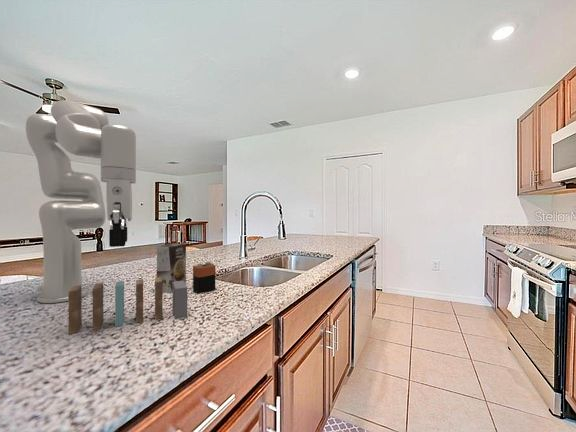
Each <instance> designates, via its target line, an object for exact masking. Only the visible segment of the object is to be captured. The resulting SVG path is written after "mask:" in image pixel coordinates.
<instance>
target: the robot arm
mask: <svg viewBox="0 0 576 432" xmlns="http://www.w3.org/2000/svg"><path fill="white" fill-rule="evenodd" d="M50 113H51V114H46V113H45V114H44V113H34V114H31V115H30V116H28V117H27V119H26V121H25V134H26V139H27V141H28V144H29V146H30V148H31V150H32V152H33V153H34V156H35V157H36V158H35V159H36V161H37V168H38V175H39V181H40V186H41V191H42V192H43V194H44V195H45V196H46V197H47V198H49V199H50V198H51V199H56V200H51V201H47V202H44V203H43V204H42V205H41V206H40V208H39V210H38V216H39V217H38V219H39V222H40V225H41V232H42V243H43V244H42V245H43V251H42V252H43V283H42V284H41V285H38V286H37V290H38V291H42V293H41V294H40V295H39V296H37V298H36V300H37V302H38V303H42V304H57V303H63V302H64V303H65V302H69V298H68V291H69V290H70V289H71V288H72V287H73V286H79V285H81V293H82V298H83V297H85V296H86V295H88V290H87V289H86V288H82V287H83V286H82V285H83V284H82V283H83V282H82V278H83V277H82V276H83V275H82V242H81V240H80V238H79V237H78V236H77V235H76V234H75V233H74V232H73V230H75V231H76V230H87V229H98V228H101V227H102V226H104V224H105V223H106V217H107V220H108V221H109V223H110V224H109V231H108V232H109V233H108V236H109V238H108V241H109V242H108V243H109V244H108V245H109V247H110V248H116V247H117V248H119V247H125V246H126V243H127V242H128V226H127V222H131V221H132V220H133V189H132V184H136V183H137V180H136V179H137V172H136V171H137V169H136V168H137V165H136V164H137V161H136V160H137V151H136V150H137V145H136V144H137V142H136V141H137V139H136V138H137V136H136V133H135V131H134V130H133V129H132V128H130V127H127V126H126V125H119V124H109V123H110V122H109V118H108V116H107V114H106V113H105V111H103V110H102V109H99V108H98V107H95V106H94V107H93V106H90V105H87V104H84V103H83V104H82V103H79V102H76V101H73V100H67V99H66V100H65V99H62V100H58V101H56V102H54V103H53V104H52V106H51V107H50ZM56 143H57V144H59V145H60V146H58V145H57V144H56ZM61 147H62V148H63V149H64V150H65V151H66V152H67V153H69V154H71V155H75V156H80V157H88V158H93V159H100V181H99V179H98V178H97V176H95V175H94V174H91V173H88V172H79V171H74V170H73V168H72V163H71V158H70V157H69V156H68V154H66V152H65V151H64V150H63V149H62V148H61ZM101 182H102V183H106V207H105V202H104V197H103V191H102V186H101ZM57 199H60V200H57ZM79 200H80V201H79Z"/></svg>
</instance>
